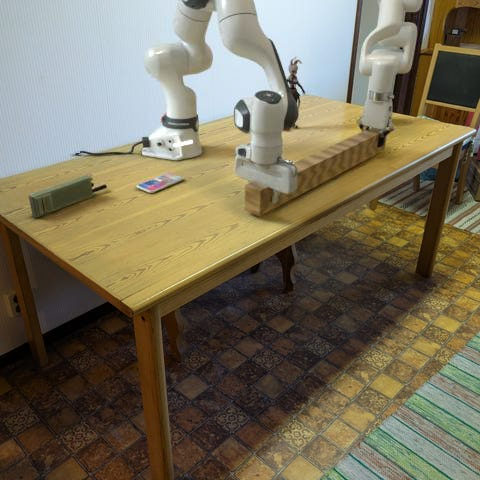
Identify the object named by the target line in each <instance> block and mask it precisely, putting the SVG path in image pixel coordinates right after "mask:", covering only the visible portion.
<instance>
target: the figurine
mask: <svg viewBox="0 0 480 480" xmlns="http://www.w3.org/2000/svg"><path fill="white" fill-rule="evenodd" d="M293 61H294V62H293ZM298 63H299V64H301V65H302V64H303V62H302V61H301V60H300V59H298V58H297V56H295V57H294V58H292V59H290V60H289V65H288V68H287V69H288V72H289V75H288V76H286V79H287V82H288V85H289V88H290V91H291V93H292V95H293V97H294V99H295V101H296V103H297V106H298V110H299V109H300V106H301V97H300V96H301V93H299V92H298V88H299V89H300V90H301V92H302V95H306V91H305V89H304V88H303V85H301V83H300V82H299V79H298V76H297V74H298V69H299V66H298ZM297 86H298V88H297ZM298 127H299V126H298V125H297V124H296V123H295V124H294V125H293V127H292V128H293V129H298ZM288 131H290V129H289V130H288ZM288 131H287V132H288Z"/></svg>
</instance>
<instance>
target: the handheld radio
mask: <svg viewBox="0 0 480 480" xmlns="http://www.w3.org/2000/svg"><path fill="white" fill-rule="evenodd" d="M92 176H93V174H91V173H88V174H85V175H83V176H79V177H76V178H74V179H71V180H68V181H65V182H62V183H59V184H57V185H54V186H50V187H47V188H44V189H42V190H39V191H37V192H33V193H30V194H28V200H29V206H30V210H31V216H32V217H34V218H35V219H36V218H39V217H42V216H45V215H47V214H50V213H53V212H56V211H58V210H60V209H63V208H66V207H68V206H72V205H73V204H76V203H80V202H82V201H84V200H87V199H90V198H93V196H95V195H96V194H95V193H97V192H100V191H102V190H106V189H107V188H108V186H107V184H102V185H99V186H96V187H94V186H95V183H94V182H92V181H93V180H94V178H93V177H92ZM93 187H94V188H93Z"/></svg>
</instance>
